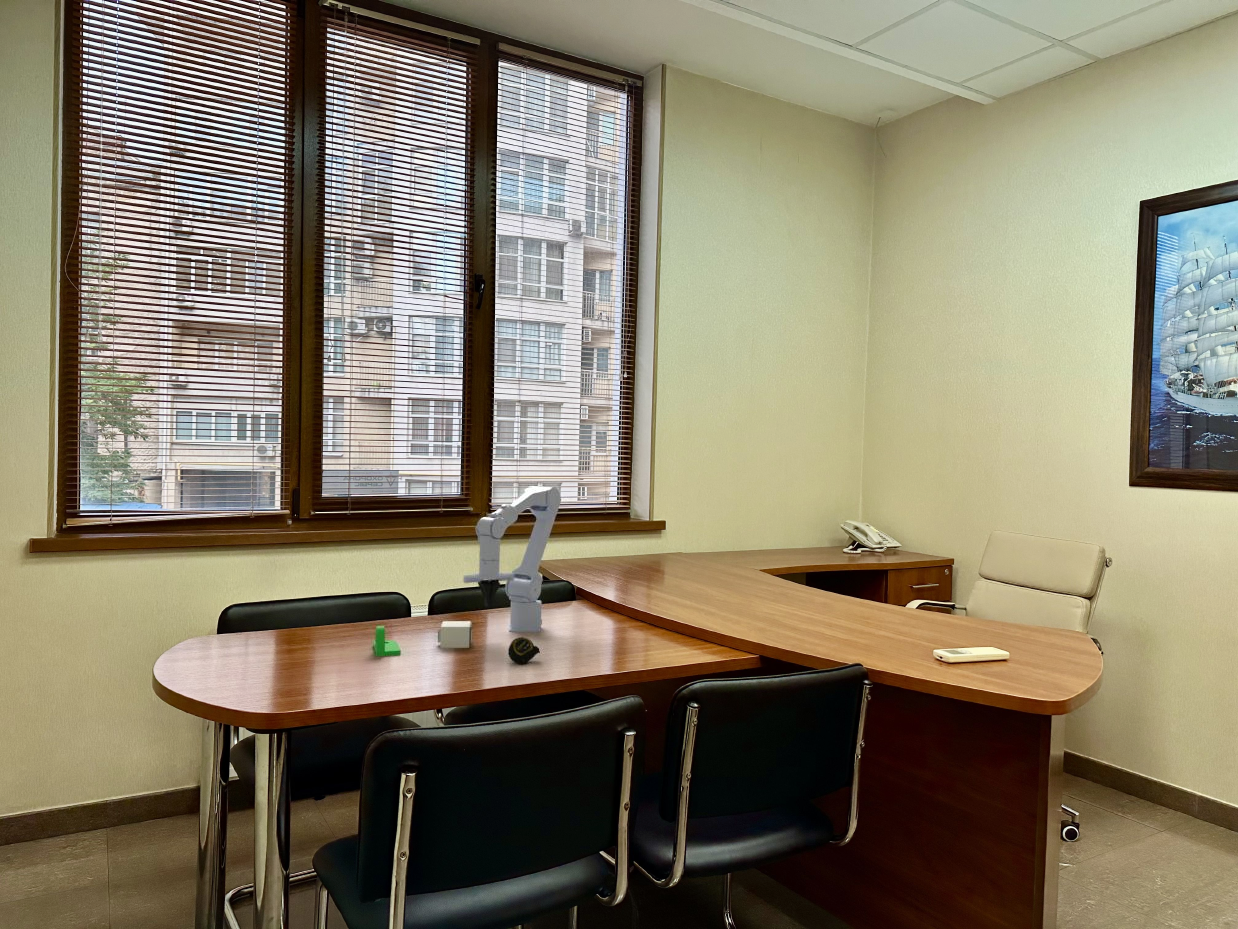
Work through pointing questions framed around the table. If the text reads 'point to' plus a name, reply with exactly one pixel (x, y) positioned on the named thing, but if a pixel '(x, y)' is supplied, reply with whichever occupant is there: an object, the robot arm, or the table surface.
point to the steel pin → (440, 635)
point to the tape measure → (522, 650)
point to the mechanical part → (384, 644)
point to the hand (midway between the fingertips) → (488, 606)
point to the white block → (456, 634)
